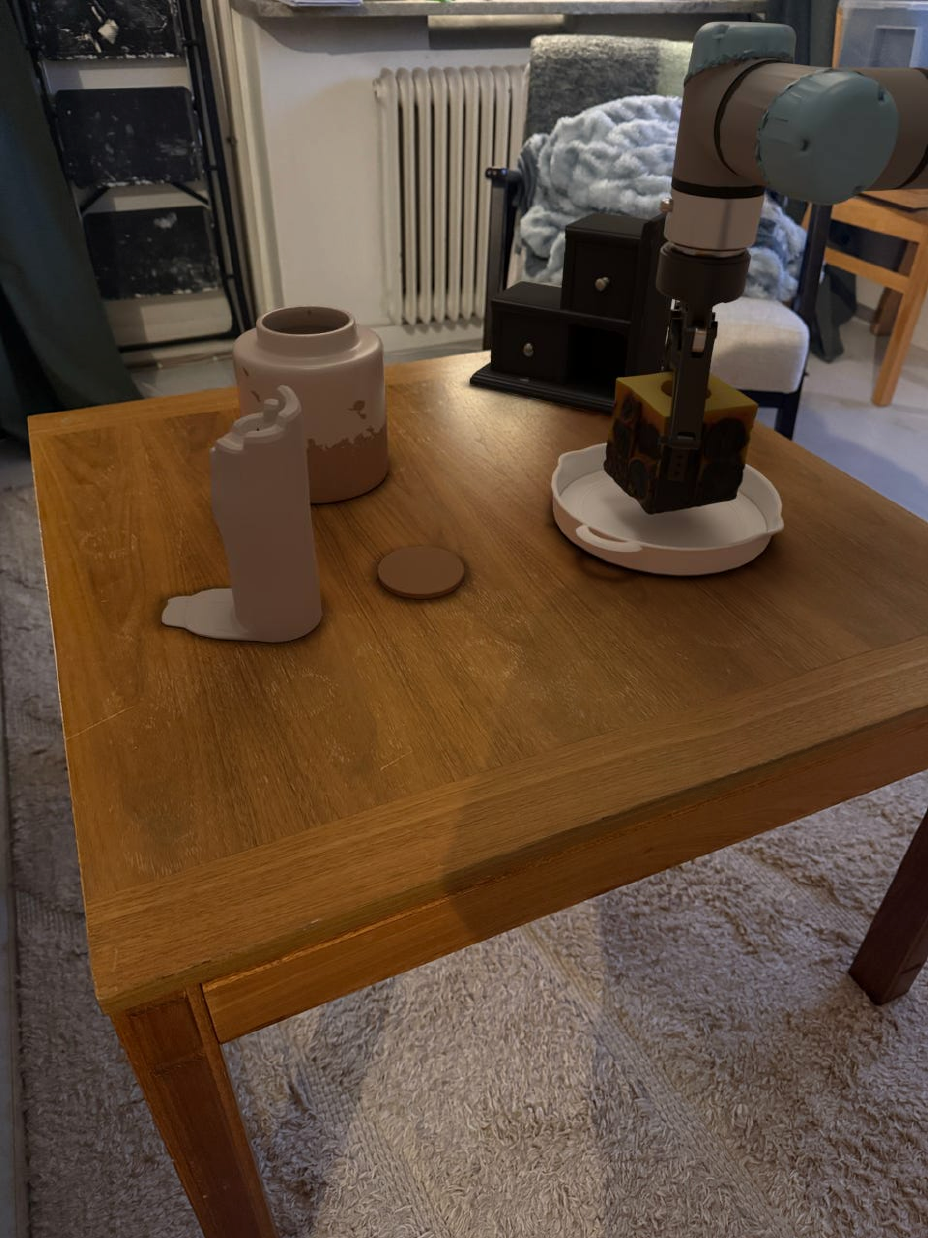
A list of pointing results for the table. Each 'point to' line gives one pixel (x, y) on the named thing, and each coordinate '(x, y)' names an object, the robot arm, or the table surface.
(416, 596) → the coaster
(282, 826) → the table surface
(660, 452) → the candle
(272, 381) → the vase
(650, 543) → the pan
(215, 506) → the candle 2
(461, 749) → the table surface
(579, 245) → the black mini drawer cabinet
